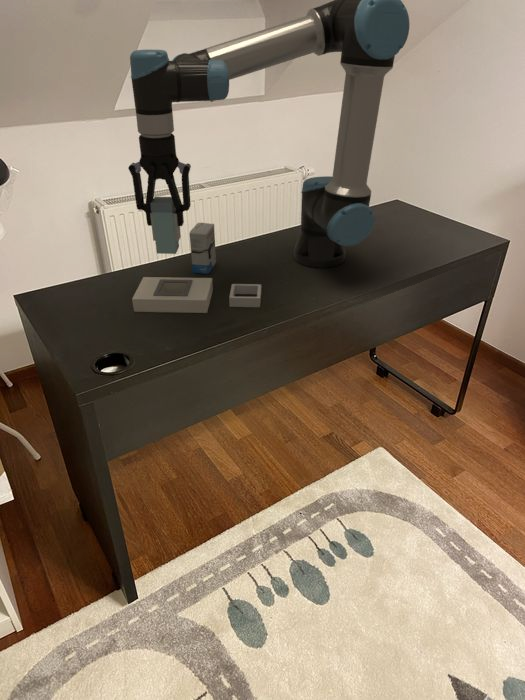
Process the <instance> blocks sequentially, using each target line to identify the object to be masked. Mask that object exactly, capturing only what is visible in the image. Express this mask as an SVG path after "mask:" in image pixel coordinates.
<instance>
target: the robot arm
mask: <svg viewBox="0 0 525 700" xmlns="http://www.w3.org/2000/svg"><path fill="white" fill-rule="evenodd" d="M409 31H410V17H409V13H408V9H407V7H406V6H405V3H404V2H403V1H402V0H332V1H329V2H326V3H325V4H322V5H319V6H316V7H313V8H310V9H308V11H307V13H306V15H305V16H303V17H300V18H296V19H292V20H290V21H286V22H283V23H281V24H278V25H273V26H271V27H268V28H266V29H261V30H258V31H256V32H253V33H250V34H246V35H243V36H240V37H237V38H234V39H230V40H228V41H224V42H221V43H218V44H214V45H212V46H209V47H205V48H204V49H200V50H196V51H193V52H190V53H188V52H187V53H185V52H183V53H181V54H177V55H176V56H174V57H173V59H172V60H170V58H169V56H168V51H166V50H165V49H164V50H163V49H138V50H137V49H136V50H133V51H132V52H131V53H130V55H129V62H130V79H131V86H132V92H133V99H134V100H133V101H134V108H135V115H136V116H135V117H136V118H135V119H136V127H137V132H138V133H139V134H140V135H139V137H138V141H139V150H140V158H139V161H137V162H132V163H130V165H129V166H128V170H129V173H130V175H131V176H132V183H133V192H134V198H135V206H136V209H137V210H138V211H143V212H144V213H145V216H146V225H147V226H150V227H151V232H152V234H151V235H152V241H154V242H156V241H155V233H154V224H153V215H152V212H151V205H150V203H151V202H152V200H153V199H154V197H155V190H156V189H155V188H156V181H158V180H164V181H165V183H166V185H167V188H168V191H169V193H170V197H172V200H173V203H174V206H175V211H174V213H173V219H174V229H175V240H176V241H179V242H180V240H181V237H182V235H181V227H183V225H184V222H185V221H184V212H186V211H187V212H188V211H189V210H190V207H191V192H190V177H189V176H190V175H189V174H190V171H191V167H192V166H191V163H184V162H180V160H179V158H178V156H177V152H176V151H177V150H176V149H177V148H176V140H175V139H176V138H175V137H176V136H175V135H174V134H173V132H174V131H175V126H174V125H175V124H174V113H173V103H181V102H182V103H183V102H184V103H186V102H187V103H188V102H190V103H191V102H192V103H193V102H211V103H213V102H215V101H223V100H226V99H227V97H228V96H229V91H230V80H234V79H236V78H239V77H243V76H246V75H250V74H253V73H255V72H258V71H261V70H264V69H267V68H268V69H269V68H271V67H273V66H277V65H280V64H283V63H286V62H288V61H293V60H295V59H299V58H301V57H304V56H308V55H311V54H315V55H316V56H318V57H319V56H322V55H326V54H329V53H330V54H331V53H340V66H341V67H342V68H343V70H344V72H345V76H344V85H343V93H342V99H341V100H342V101H341V106H340V107H341V109H340V117H339V123H338V129H337V130H338V131H337V138H336V139H337V140H336V148H335V153H334V161H333V162H334V163H333V170H332V176H331V175H330V176H327V175H325V176H323V175H322V176H314V177H310V178H307V179H305V180H304V181H303V183H302V189H301V191H300V192H301V207H300V208H301V210H300V211H301V212H300V213H301V215H300V232H299V235H298V237H297V240H296V243H295V246H294V248H293V258H294V260H295V261H296V262H297V263H299V264H301V265H302V266H307V267H311V268H320V269H321V268H331V267H336V266H339V265H341V264H343V263H344V262H345V260H346V248H345V247H352V246H356V245H358V244H360V243H361V242H363V241H364V239H367V238H368V236H369V235H370V234H371V232H373V229H374V226H375V223H376V222H375V214H374V212H373V209H372V208H371V206H370V203H371V197H372V190H371V189H370V187H369V186H368V184H367V183H368V176H369V171H370V167H371V166H370V165H371V158H372V152H373V147H374V146H373V145H374V140H375V134H376V129H377V123H378V122H377V121H378V118H379V117H378V116H379V110H380V104H381V99H382V92H383V86H384V80H385V76H386V75H387V74H388V73H389V72H391V71H392V69H393V68H394V62H395V59H396V58H395V57H396V55H397V54H399V52H400V50H401V49H403V47H404V46H405V45H406V42H407V40H408V37H409ZM177 168H178V169H179V170H178V171H179V174H181V190H182V200H183V201H182V200H181V197H180V193H179V191H178V187H177V184H176V181H175V180H176V179H175V176H174V173H175V171H176V170H177ZM142 169H143V170H144V172H145V173H146V174H147V176H148V177H147V187H146V188H147V189H146V195H145V196H146V197H145V199H144V192H143V185H142V184H143V183H142V176H141V171H142Z"/></svg>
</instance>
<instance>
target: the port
mask: <svg viewBox="0 0 525 700" xmlns="http://www.w3.org/2000/svg"><path fill="white" fill-rule="evenodd" d="M213 291H214V285H213V278H212V277H168V276H167V277H165V276H164V277H163V276H162V277H161V276H160V277H157V276H156V277H155V276H153V277H151V276H143V277H142V279H141V281H140V283H139V285H138V287H137V288H136V291H135V292H134V294H133V297H132V298H131V300H132V307H133V312H134V313H135V312H136V313H138V312H139V313H188V314H189V313H191V314H192V313H197V314H202V313H203V314H208V310H209V307H210V304H211V299H212V295H213Z"/></svg>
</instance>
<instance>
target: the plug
mask: <svg viewBox="0 0 525 700" xmlns="http://www.w3.org/2000/svg"><path fill="white" fill-rule="evenodd" d="M150 205H151V212H152V215H153V224H154V233H155V241H154V242H155V248H156V254H159V255H160V254H161V255H163V254H167V255H169V254H170V255H172V254H173V255H176V254H177V252H178V250H179V248H180V240H179V241H176V240H175V229H174V219H173V213H174V211H175V206H174V203H173V200H172V197H171V196H154V198H153V200H152V202H151V203H150Z"/></svg>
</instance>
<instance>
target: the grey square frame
mask: <svg viewBox="0 0 525 700" xmlns="http://www.w3.org/2000/svg"><path fill="white" fill-rule="evenodd" d="M236 295H256V296H236ZM228 302H229V308H261V302H262V284H259V283H255V284H253V283H252V284H251V283H232V284H231V287H230V292H229V298H228Z"/></svg>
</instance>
